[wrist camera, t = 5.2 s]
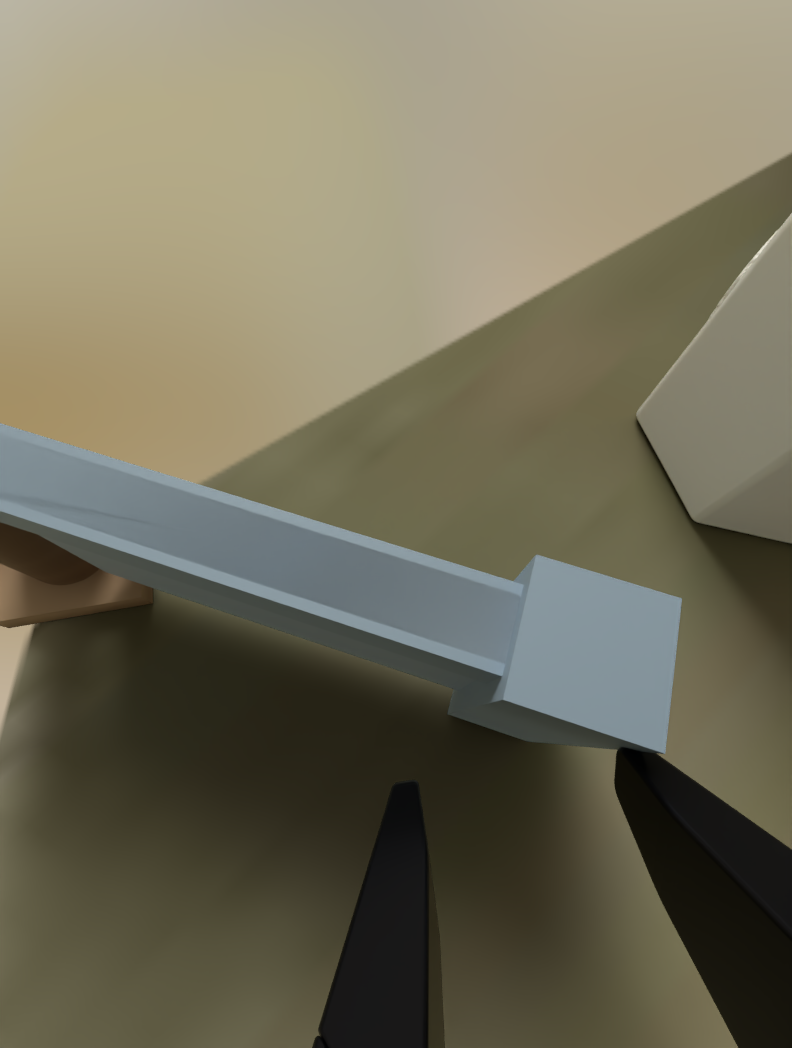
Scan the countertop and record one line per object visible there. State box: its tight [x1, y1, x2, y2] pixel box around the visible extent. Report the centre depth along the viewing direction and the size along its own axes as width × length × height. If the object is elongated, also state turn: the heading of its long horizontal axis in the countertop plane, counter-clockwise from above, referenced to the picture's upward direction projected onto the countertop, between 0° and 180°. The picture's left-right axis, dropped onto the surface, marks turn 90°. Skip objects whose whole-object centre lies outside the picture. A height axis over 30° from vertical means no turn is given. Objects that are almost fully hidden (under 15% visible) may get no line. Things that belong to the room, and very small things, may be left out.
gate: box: [0, 423, 682, 754], centre depth 12 cm, size 13×2×8 cm, turn 72°
